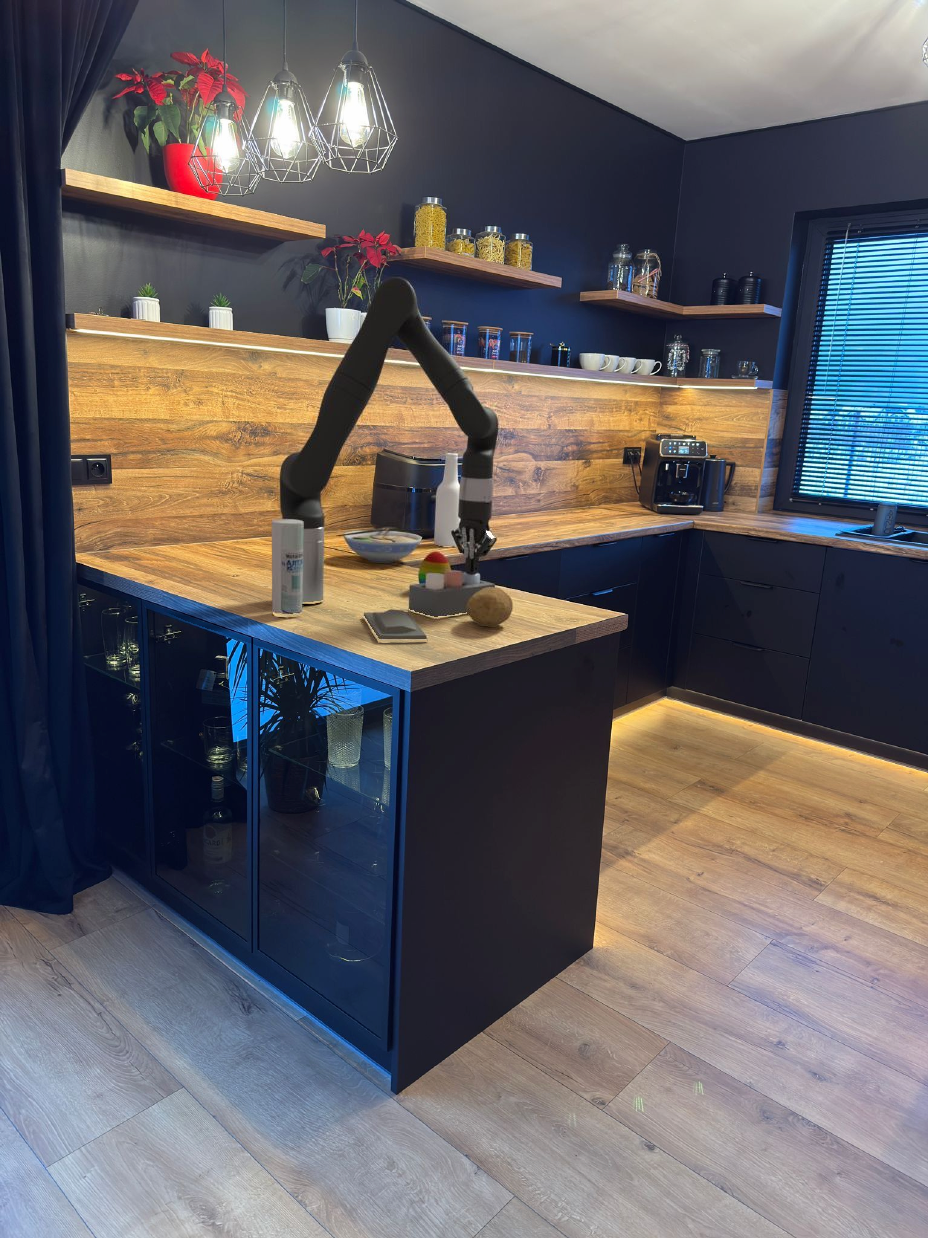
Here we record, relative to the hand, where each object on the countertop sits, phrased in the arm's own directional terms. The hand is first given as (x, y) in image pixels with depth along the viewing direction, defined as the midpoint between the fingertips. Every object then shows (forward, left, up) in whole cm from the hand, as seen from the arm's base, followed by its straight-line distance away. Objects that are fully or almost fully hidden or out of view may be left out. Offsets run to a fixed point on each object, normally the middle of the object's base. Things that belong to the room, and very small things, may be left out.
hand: (471, 573), depth 201 cm
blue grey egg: (0, 0, -6) cm, 6 cm away
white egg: (-11, 0, -5) cm, 12 cm away
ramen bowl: (+20, +57, -8) cm, 61 cm away
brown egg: (-6, 0, -5) cm, 8 cm away
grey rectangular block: (-6, 0, -8) cm, 10 cm away
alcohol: (+58, +69, -8) cm, 91 cm away
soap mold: (-28, -7, -9) cm, 30 cm away
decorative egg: (+5, +17, -8) cm, 20 cm away
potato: (-8, -14, -8) cm, 18 cm away
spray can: (-39, +15, -8) cm, 43 cm away
